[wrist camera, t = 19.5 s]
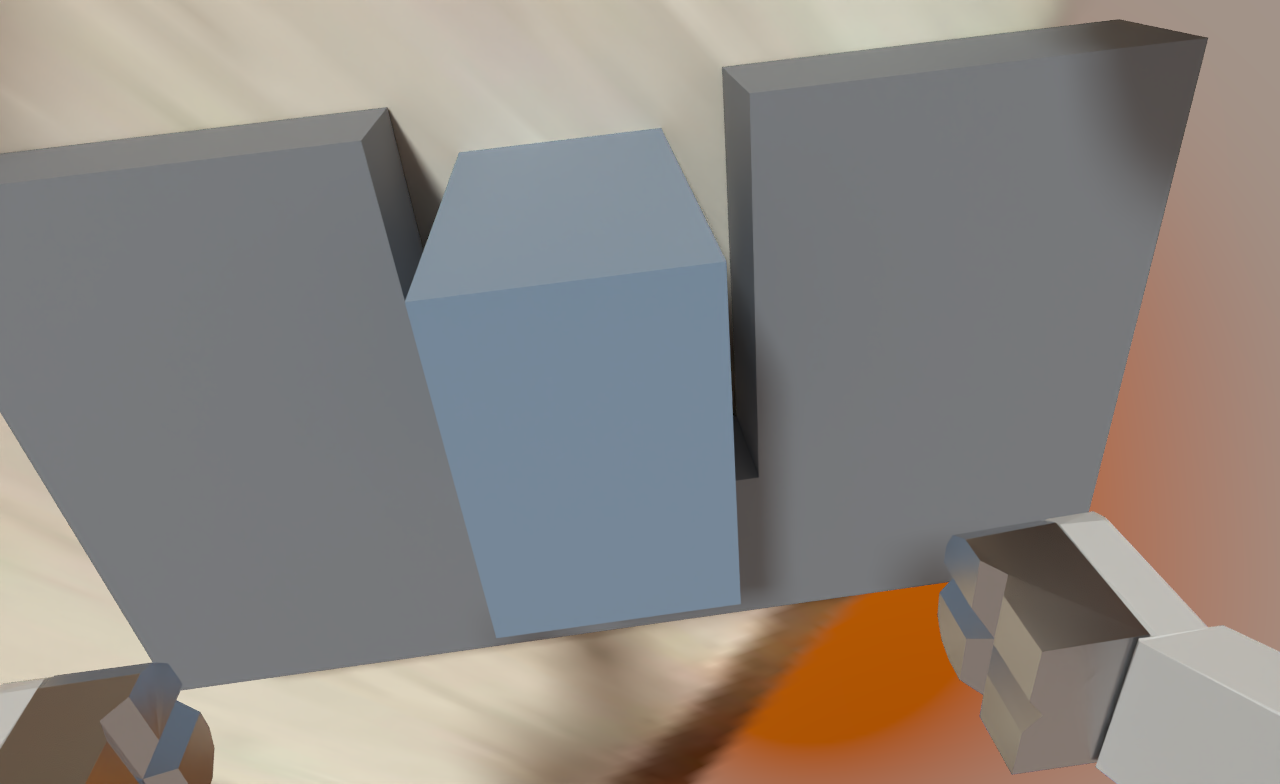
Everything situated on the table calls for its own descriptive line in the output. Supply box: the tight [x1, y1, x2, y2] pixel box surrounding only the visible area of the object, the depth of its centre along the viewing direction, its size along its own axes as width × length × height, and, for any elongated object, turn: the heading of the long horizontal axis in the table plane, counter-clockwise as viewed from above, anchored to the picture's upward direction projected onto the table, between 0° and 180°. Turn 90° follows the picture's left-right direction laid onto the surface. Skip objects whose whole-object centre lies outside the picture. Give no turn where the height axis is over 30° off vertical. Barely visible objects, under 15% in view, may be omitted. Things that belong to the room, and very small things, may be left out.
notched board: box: [0, 20, 1208, 690], centre depth 17 cm, size 22×12×2 cm, turn 96°
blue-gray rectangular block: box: [405, 128, 741, 638], centre depth 15 cm, size 4×6×7 cm, turn 6°
